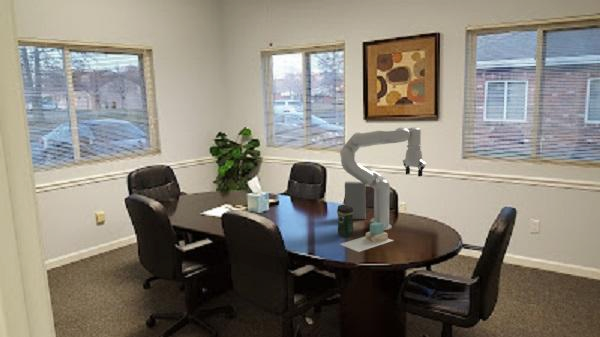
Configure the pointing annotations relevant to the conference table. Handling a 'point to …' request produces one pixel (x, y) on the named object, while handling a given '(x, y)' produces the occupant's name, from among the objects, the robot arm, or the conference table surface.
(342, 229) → the coffee jar
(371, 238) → the maple block
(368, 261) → the conference table surface
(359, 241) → the felt mat
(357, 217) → the cassette tape recorder
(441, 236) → the conference table surface
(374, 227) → the teal cube
